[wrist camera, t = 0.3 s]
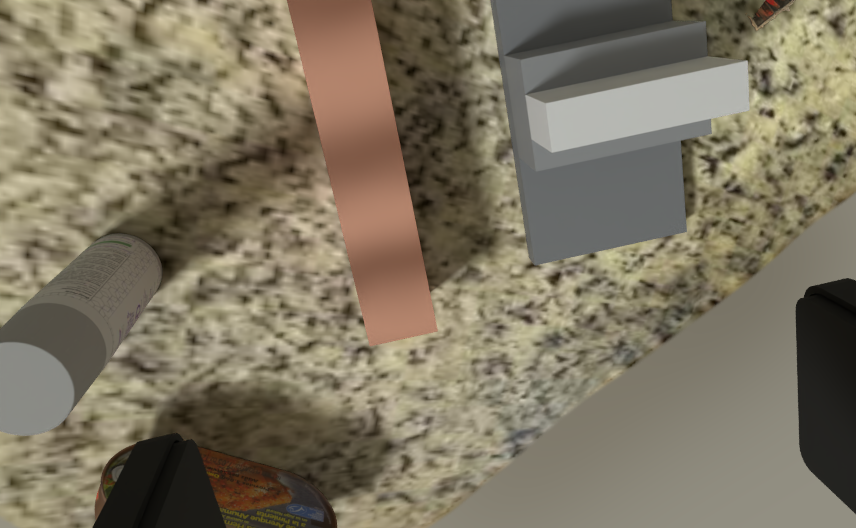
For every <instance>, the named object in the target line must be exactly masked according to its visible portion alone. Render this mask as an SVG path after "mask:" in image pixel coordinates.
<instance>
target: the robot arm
mask: <svg viewBox="0 0 856 528" xmlns="http://www.w3.org/2000/svg"><path fill="white" fill-rule="evenodd" d="M796 340H797V375H798V409H799V410H798V411H799V445H800V452H801V455H802V458H803V460H804V462H805V464H806V466H807V467H808V468H809V470H810V471H811V472H812V473H813V474H814V475H815V476H816V477H817V478H818V479H819V480H821V481H822V482H823V483H824V484H825V485H826V486H827V487H828V488H829V489H830V490H831V491H832V492H833V493H834V494H835V495H836V496H837V497H838V498H839V499H841V500H842V501H843V502H844V503H845V504H846V505H847V506H848V507H849V508H850V509H851V510H852V511H853V512H854V513H855V514H856V281H855V280H852V279H849V278H846V279H841V280H837V281H833V282H828V283H824V284H820V285H815V286H811V287H809V288H808V289H807V290H806V292H805V295H804V298H800V299H799V300H798V302H797V304H796ZM93 528H226V525H225V522H224V519H223V516H222V514H221V511H220V508H219V505H218V502H217V500H216V497H215V494H214V491H213V488H212V486H211V483H210V480H209V477H208V474H207V471H206V469H205V466H204V463H203V460H202V457H201V455H200V452H199V449H198V447H197V445H196V443H195V442H194V440H192V439H191V440H186V441H183V439H182V437H181V436H180V435H179V434H177V433H174V434H169V435H165V436H161V437H156V438H152V439H148V440H143V441H139V442H137V443H136V444H135V446H134V447H133V449H132V451H131V453H130V455H129V457H128V459H127V461H126V463H125V465H124V467H123V469H122V471H121V473H120V475H119V477H118V479H117V481H116V483H115V485H114V487H113V488H112V490H111V492H110V494H109V496H108V498H107V500H106V502H105V504H104V506H103V508H102V510H101V512H100V514H99V516H98V518H97V520H96V522H95V524H94V526H93Z"/></svg>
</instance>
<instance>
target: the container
mask: <svg viewBox="0 0 856 528" xmlns="http://www.w3.org/2000/svg"><path fill="white" fill-rule="evenodd" d="M161 280H162V265H161V262H160V259H159V257H158V255H157V254H156V252H155V251H154V250H153V248H152V247H151V246H150V245H149V244H147V243H146V242H145V241H143V240H141V239H140V238H137V237H135V236H132V235H128V234H110V235H106V236H104V237H102V238H100V239H98V240H96V241H95V242H94V243H93V244H91V245H90V246H89V247H88V248H87V249H86V250H85V251H84V252H82V253H81V254H80V255H79V256H78V257H77V258H76V259H75V260H74V261H72V262H71V263H70V264H69V265H68V266H67V267H66V268H65V269H64V270H62V271H61V272H60V273H59V274H58V275H57V276H56V277H55V278H54V279H52V280H51V281H50V282H49V283H48V284H47V285H46V286H45V287H44V288H43V289H41V290H40V291H39V292H38V293H37V294H36V295H35V296H34V297H33V298H31V299H30V300H29V301H28V302H27V303H26V304H25V305H24V306H23V307H21V309H20V310H19V311H18V312H17V313H16V314H15V315H14V316H13V317H12V318H11V319H10V320H9V321H8V322H7V323H6V324H5V325H4V326H3V327H2V328H1V329H0V431H2V432H5V433H8V434H13V435H36V434H40V433H44V432H47V431H49V430H51V429H53V428H55V427H57V426H58V425H59V424H61V423H62V422H63V421H64V420H65V419H66V418H67V416H68V415H69V414H70V412H71V411H72V410H73V408H74V407H75V406H76V404H77V403H78V402H79V400H80V399H81V398H82V396H83V395H84V394H85V392H86V391H87V390H88V388H89V387H90V386H91V384H92V383H93V382H94V381H95V379H96V378H97V377H98V375H99V374H100V373H101V371H102V370H103V369H104V367H105V366H106V365H107V363H108V362H109V360H110V359H111V357H112V356H113V355H114V353H115V352H116V350H117V349H118V347H119V346H120V344H121V343H122V341H123V340H124V338H125V337H126V335H127V334H128V332H129V331H130V329H131V328H132V326H133V325H134V323H135V322H136V321H137V319H138V318H139V316H140V315H141V313H142V312H143V310H144V309H145V307H146V306H147V304H148V303H149V301H150V300H151V298H152V297H153V295H154V294H155V292H156V291H157V289H158V287H159V285H160V283H161Z"/></svg>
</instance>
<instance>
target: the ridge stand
mask: <svg viewBox="0 0 856 528" xmlns="http://www.w3.org/2000/svg"><path fill="white" fill-rule="evenodd" d="M491 7H492V14H493V20H494V27H495V34H496V40H497V47H498V54H499V60H500V67H501V74H502V80H503V87H504V93H505V100H506V107H507V113H508V120H509V127H510V133H511V140H512V147H513V153H514V160H515V167H516V173H517V180H518V187H519V193H520V200H521V207H522V213H523V220H524V227H525V233H526V240H527V247H528V253H529V258H530V259H531V261H532V262H533V263H534V265H539V264H543V263H548V262H552V261H557V260H561V259H566V258H570V257H575V256H579V255H584V254H588V253H593V252H597V251H602V250H606V249H611V248H615V247H620V246H625V245H629V244H634V243H638V242H643V241H647V240H652V239H656V238H661V237H665V236H670V235H674V234H679V233H683V232H687V228H686V213H685V198H684V183H683V168H682V153H681V140H685V139H690V138H694V137H699V136H704V135H708V134H712V132H711V119H712V118H716V117H721V116H726V115H730V114H735V113H740V112H744V111H749V86H748V61H746V60H737V59H728V58H719V57H710V56H708V54H707V35H706V21H673V19H672V4H671V0H491Z"/></svg>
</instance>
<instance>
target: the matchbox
mask: <svg viewBox="0 0 856 528" xmlns="http://www.w3.org/2000/svg"><path fill="white" fill-rule="evenodd" d="M794 1H795V0H765V2H764V4H763V5H762V6H761V7H760V9H759V10H758V12H757V13H755V15H753V16H755V17H754V18H753V19H752V18H751V17H749V16H748V17H749V18H750V19H751V22H752V26H754V27H755V29H756V30H758V29H759V28H761V27H762V28H763V25H765V24H767V23H768V22H769V21H771V20H772V19H775V18H776V16H777V15H778V14H779V13H781V12H782V11H785V10H786V11H790V9H789V6H790V5H792V4H793V3H794ZM746 14H747V13H746ZM755 25H756V26H755Z"/></svg>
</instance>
